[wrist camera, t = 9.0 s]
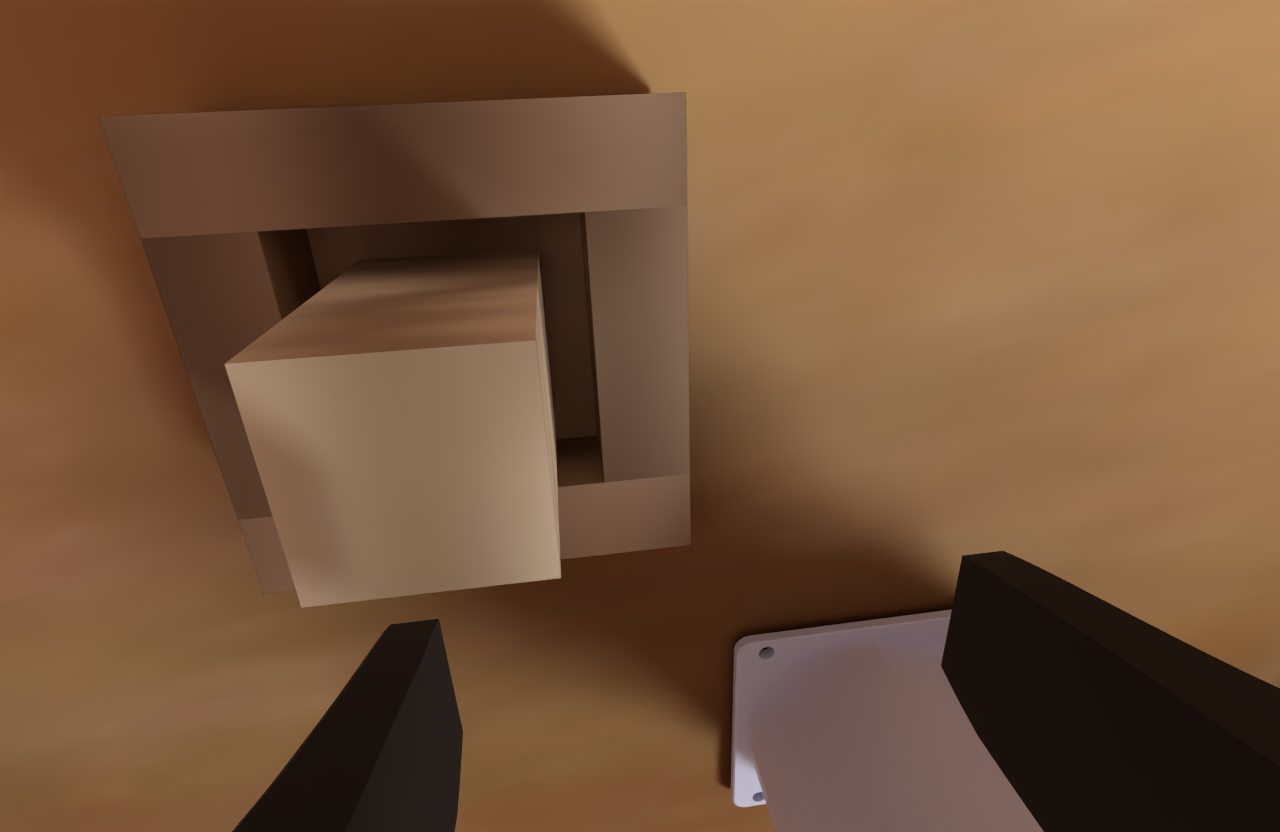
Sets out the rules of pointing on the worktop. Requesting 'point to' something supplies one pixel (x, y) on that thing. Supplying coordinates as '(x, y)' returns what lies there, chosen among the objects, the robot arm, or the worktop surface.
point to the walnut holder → (441, 225)
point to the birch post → (409, 428)
